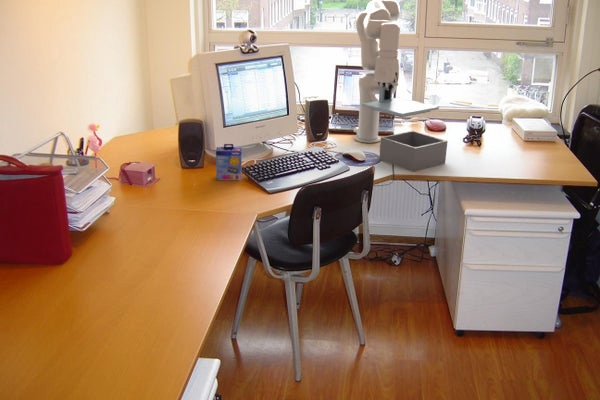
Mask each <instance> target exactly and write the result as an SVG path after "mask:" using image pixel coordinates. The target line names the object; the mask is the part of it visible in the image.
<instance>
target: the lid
mask: <svg viewBox="0 0 600 400" xmlns="http://www.w3.org/2000/svg"><path fill="white" fill-rule="evenodd" d="M385 90H386V87H380V91H379V94H378V95H379V96H378V101H374V102H368V103H362V106H364V107H368V108H370V109H371V110H375V111H379V113H383V114H386V115H392V116H395V117H399V118H405V117H410V116H415V115H421V114H426V113H431V112H433V111H437V110H439V109H440V107H439V106H438V105H433V104H428V103H424V102H420V101H415V100H411V99H407V98H403V97H393V98H392V96H393V94H392V90H391V98H390V99H389V100H384V96H385Z"/></svg>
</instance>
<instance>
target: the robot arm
mask: <svg viewBox="0 0 600 400" xmlns="http://www.w3.org/2000/svg"><path fill="white" fill-rule="evenodd" d="M400 9H401V8H400V4H399V3H398V2H397V1H396V0H371V1H370V2H368V4H367V6H366V10H365V11H361V12H359V13H357V15H356V18H355V26H356V27H355V28H356V31H357V34H358V35H357V36H358V37H359V41H360V48H361V49H360V50H361V51H360V56H361V57H360V59H361V60H360V61H361V62H360V63H361V68H362V69H363V70H364V71H365V72H367V73H364V74H361V76H360V77H359V79H358V87H359V90H358V91H359V109H358V110H359V111H358V112H359V113H358V127H355V128H354V129H353V132H354V133H356V135H354V140H355V141H356V142H359V143H365V144H366V143H367V144H374V143H380V142H381V137H382V136H379V125H380V124H379V122H380V112H379V111H375V110H371V109H370V108H368V107H364V106H362V103H368V102H374V101H379V98H377V97H376V95H379V91H380V87H386V90H385V96H384V100H389V99H390V98H391V90H392V95H393V94H395V93H396V90H397V87H398V86H399V79H400V78H399V76H400V63H399V58H398V55H399V54H398V53H399V41H400V32H401V26H400V24H399V22H398V19H399V17H400V12H401V11H400ZM368 72H369V73H368ZM372 72H374V73H372Z"/></svg>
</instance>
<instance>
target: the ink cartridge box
mask: <svg viewBox="0 0 600 400" xmlns="http://www.w3.org/2000/svg"><path fill="white" fill-rule="evenodd" d="M215 173H216V181H241V180H242V147H241V146H234V143H224V144H223V146H216V150H215Z"/></svg>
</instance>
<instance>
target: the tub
mask: <svg viewBox="0 0 600 400" xmlns="http://www.w3.org/2000/svg"><path fill="white" fill-rule="evenodd" d="M380 137H381V140H380V141H379V143H380V144H379V145H380V146H379V155H378V157H379V158H378V159H379V160H380V161H382V162H385V163H387V164H391V165H393V166H396V167H399V168H401V169H405V170H407V171H411V172H413V173H414V172H418V171H421V170H425V169H426V170H427V169H429V168H433V167H437V166H440V165H445V164H446V160H447V159H446V158H447V148H448V142H449V141H448V140H445V139H442V138H438V137H435V136H431V135H429V134H426V133H422V132H418V131H415V130H410V131H404V132H399V133H395V134H391V135H386V136H380Z"/></svg>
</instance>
